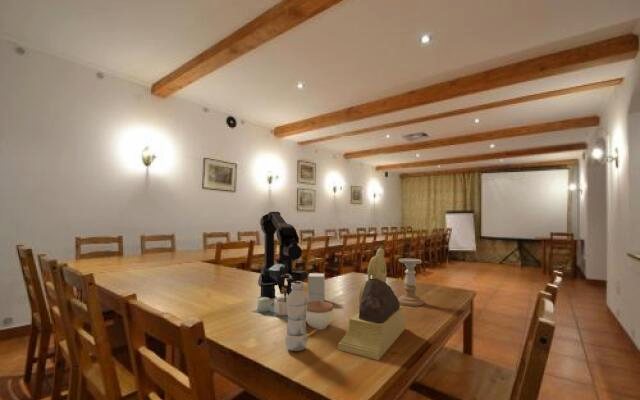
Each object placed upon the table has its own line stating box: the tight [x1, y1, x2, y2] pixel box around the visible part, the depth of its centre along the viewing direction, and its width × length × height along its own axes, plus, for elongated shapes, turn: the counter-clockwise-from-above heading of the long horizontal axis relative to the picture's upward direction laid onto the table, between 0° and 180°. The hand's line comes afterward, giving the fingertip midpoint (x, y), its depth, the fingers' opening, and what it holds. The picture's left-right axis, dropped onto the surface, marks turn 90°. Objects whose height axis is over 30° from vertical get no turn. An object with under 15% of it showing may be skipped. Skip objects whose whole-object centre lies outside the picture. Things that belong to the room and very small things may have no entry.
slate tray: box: [251, 302, 288, 321], centre depth 127 cm, size 22×16×1 cm
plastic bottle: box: [284, 280, 308, 352], centre depth 93 cm, size 6×7×20 cm
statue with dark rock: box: [337, 247, 406, 361], centre depth 102 cm, size 28×13×30 cm, turn 150°
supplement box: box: [307, 272, 326, 302], centre depth 144 cm, size 7×7×13 cm
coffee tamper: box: [280, 284, 288, 302], centre depth 126 cm, size 6×6×9 cm
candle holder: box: [397, 257, 425, 307], centre depth 144 cm, size 12×12×20 cm
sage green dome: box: [256, 296, 271, 314], centre depth 127 cm, size 5×5×5 cm
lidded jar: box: [306, 300, 334, 331], centre depth 112 cm, size 11×11×9 cm
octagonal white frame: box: [273, 296, 288, 316], centre depth 125 cm, size 8×10×5 cm
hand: (285, 294), depth 126 cm, fingers closed on coffee tamper, 3 cm apart
